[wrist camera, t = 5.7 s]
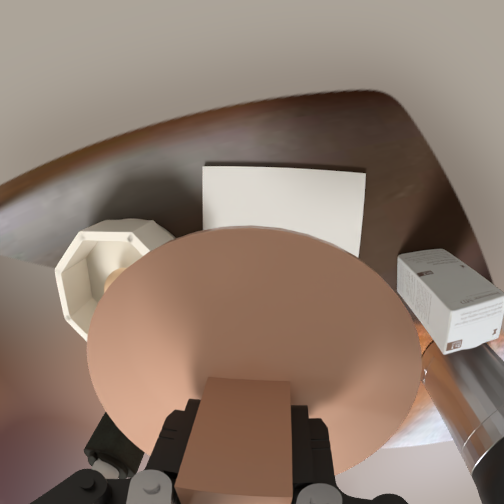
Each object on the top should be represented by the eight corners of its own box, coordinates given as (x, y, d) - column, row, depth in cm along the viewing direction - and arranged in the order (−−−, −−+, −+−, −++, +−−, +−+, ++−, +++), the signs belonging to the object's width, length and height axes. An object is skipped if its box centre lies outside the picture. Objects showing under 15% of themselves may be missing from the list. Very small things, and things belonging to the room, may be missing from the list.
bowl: (193, 218, 29) (175, 233, 24) (198, 336, 33) (186, 368, 27) (81, 218, 30) (48, 231, 24) (97, 324, 34) (73, 349, 28)
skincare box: (443, 246, 29) (511, 289, 17) (441, 284, 30) (501, 338, 18) (393, 254, 29) (452, 306, 18) (393, 294, 31) (444, 358, 19)
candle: (149, 377, 36) (70, 545, 12) (167, 405, 37) (107, 566, 13) (119, 381, 36) (35, 529, 12) (137, 408, 38) (71, 553, 14)
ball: (151, 262, 30) (134, 278, 26) (155, 302, 31) (139, 322, 27) (113, 260, 30) (92, 275, 26) (118, 299, 31) (100, 317, 27)
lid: (446, 233, 9) (559, 295, 4) (371, 474, 13) (387, 554, 8) (69, 225, 10) (-46, 274, 5) (132, 460, 14) (100, 533, 9)
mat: (364, 173, 27) (365, 173, 27) (347, 317, 32) (348, 320, 31) (203, 166, 28) (202, 166, 27) (206, 313, 32) (205, 315, 32)
